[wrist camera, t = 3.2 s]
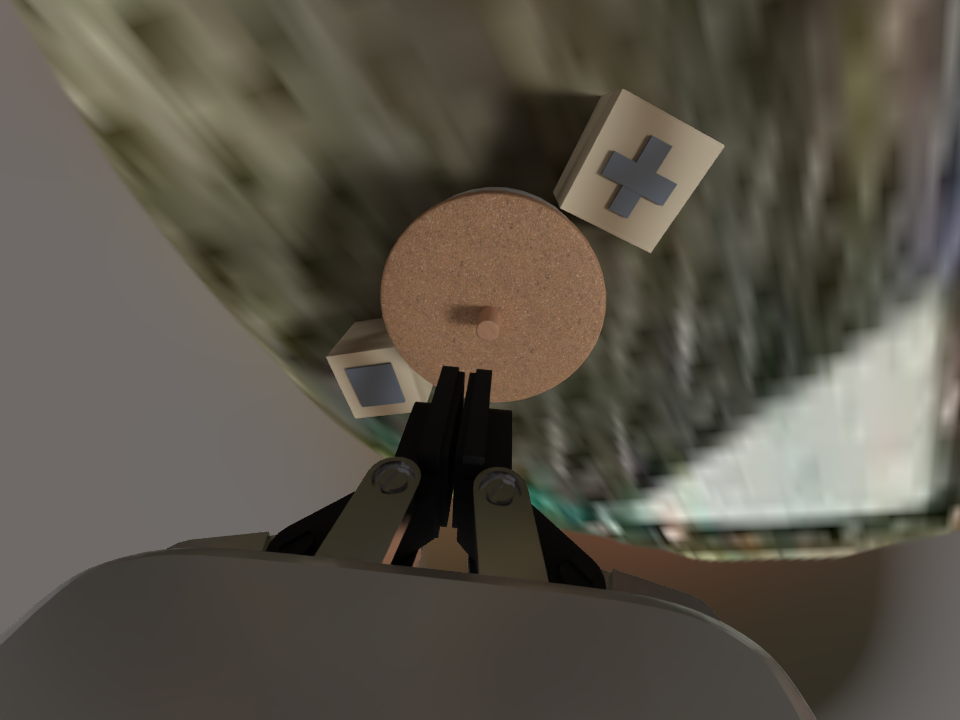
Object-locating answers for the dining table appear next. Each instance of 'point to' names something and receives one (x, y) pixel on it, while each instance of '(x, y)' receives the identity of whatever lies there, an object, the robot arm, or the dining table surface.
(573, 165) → the marked cube 2
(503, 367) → the lidded jar
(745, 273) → the dining table surface
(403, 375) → the marked cube 1
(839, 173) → the dining table surface
